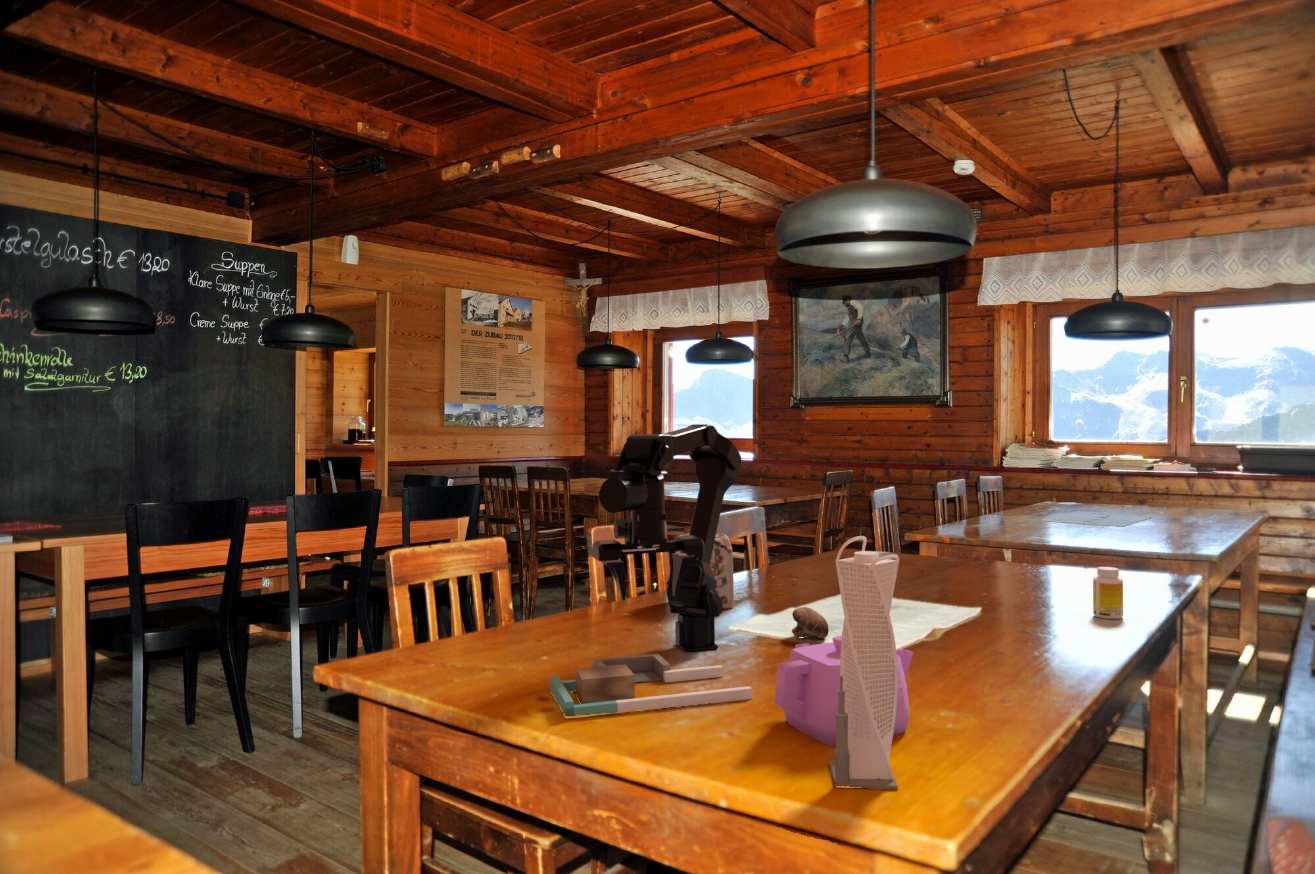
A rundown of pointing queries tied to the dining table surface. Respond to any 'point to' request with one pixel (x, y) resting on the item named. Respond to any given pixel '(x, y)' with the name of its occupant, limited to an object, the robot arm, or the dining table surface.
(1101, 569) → the supplement bottle
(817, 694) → the teakettle
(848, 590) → the skyscraper
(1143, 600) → the dining table surface
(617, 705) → the walled track with bay
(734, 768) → the dining table surface
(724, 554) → the decorative jar
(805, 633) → the mushroom
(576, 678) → the block
